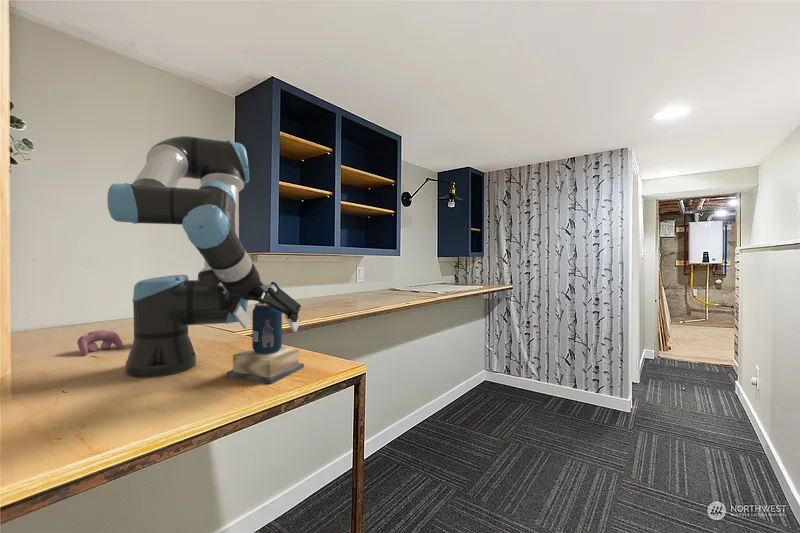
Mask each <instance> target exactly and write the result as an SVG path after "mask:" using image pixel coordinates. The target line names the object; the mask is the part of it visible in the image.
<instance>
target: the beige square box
mask: <svg viewBox="0 0 800 533" xmlns="http://www.w3.org/2000/svg"><path fill="white" fill-rule="evenodd" d="M303 368H305V364H304V363H301V362H299V348H294V347H293V348H292V347H288V346H287V347H285V346H281V348H280V350H279V351H278V352H277V353H273V354H257V353H256V352H255V351H254V349H253V347H252V348H250V349H246V350H244V351H240V352H238V353H235V354H233V355H232V369H231V370H229V371H226V377H228V378H229V377H230V378H234V379H235V378H236V379H240V380H245V381H251V382H257V383H262V384H267V385H268V384H269V385H273V384H274V383H276V382H278V381H280V380H282V379H283V378H285V377H288V376H289V375H292V374H293V373H295V372H297V371H300V370H301V369H303Z"/></svg>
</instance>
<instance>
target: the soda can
mask: <svg viewBox="0 0 800 533" xmlns="http://www.w3.org/2000/svg"><path fill="white" fill-rule="evenodd" d="M282 316H283V313H282V312H280V311H278V310H276V309H275V308H273V307H271V306H269V305H267V304H266V303H264V304H262V303H260V302H256V303H255V304H254V308H253V309H252V318H251V321H252V326H251V328H252V329H251V330H252V338H251V339H252V341H251V342H252V345H251V346H252V348H253V349H254V351H255V352H256V353H257V354H273V353H277V352H278V351H279V350H280V348H281V347H283V345H282V344H283V340H282V338H283V317H282Z"/></svg>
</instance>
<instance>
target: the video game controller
mask: <svg viewBox="0 0 800 533" xmlns="http://www.w3.org/2000/svg"><path fill="white" fill-rule="evenodd" d="M101 341H102V342H101ZM76 342H77V346H78V350H79V352H80V353H81V355H83V356H84V355H85V356H87V355H88V352H90V353H93V351H94V352H95V351H97V350H98V349H99V345H98V344H97V343H96V342H101V344H100V348H101V349H102V350H108V349H110V348H111V347H112V346H111V345H112V344H113V345H114V346H115V347H116V348H117V349H119V350H121V349H122V348H123V341H122V340H121V338H120V336H119V334H118V333H117V332H116V331H114V330H111V329H109V330H105V329H101V330H93V331H91V332H88V333H84V334H83V335H81V336H80V337H78V339H77V341H76Z"/></svg>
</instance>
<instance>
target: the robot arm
mask: <svg viewBox="0 0 800 533" xmlns="http://www.w3.org/2000/svg"><path fill="white" fill-rule="evenodd" d="M247 154H248V153H247V150H246V148H245V146H244V145H243V144H242V143H240V142H234V141H231V140H218V139H210V138H204V137H194V136H188V135H186V136H182V135H181V136H174V137H172V138H171V137H170V138H168V139H167V138H166V139H165V140H162V141H160V142H157V143H156V144H154V145H153V146H151V148H150V149H149V150H148V152H147V154H146V161H145V162H146V164H144V166H143V167H142V168H141V171H140V172H139V174H138V175H137V177H136V178H135V180H134V181H133V182H132V183H129V182H125V183H113V184H110V186H109V188H108V191H107V200H106V201H107V210H108V213H109V215H110V217H111V218H112V220H114V221H116V222H119V223H131V224H134V225H136V224H150V225H151V224H153V225H154V224H155V225H156V224H157V225H177V226H178V225H181V226H182V229H183V231H184V232H185V234H186V236H187V239H188V240H189V241H190V242H191V244H192V245H193V246H194V247H195V249H196V250H197V251H198V252H199V254H200V255H201V257H203V259H204V268H202V269H201V270H200V271H199V272H198V273H197V279H193V280H190V279H189V277H188V275H187V274H173V275H165V276H158V277H151V278H145V279H142V280H139V281H137V282H136V283H135V284H134V287H133V294H132V295H133V297H132V300H131V301H132V303H133V304H132V305H133V308H132V310H133V343H132V345H131V348H130V351H129V353H128V356H127V360H126V361H125V373H126V375H128V376H131V377H138V378H153V377H162V376H168V375H173V374H177V373H181V372H184V371H187V370H189V369H191V368H194V366H196V364H197V355H196V352H195V350H194V347H193V343H192V342H191V339H190V336H189V326H201V325H216V324H217V325H218V324H226V325H228V324H232V323H239V324H240V325H241V327H242V328H243V329H248V326H249V324H250V322H251V321H252V318H250V317H249V315H248V314H247V313H248V312H247V311H248V305H249V301H255V302H257V303H262V304H264V303H266V304H267V305H269V306H271V307H273V308H275V309H276V310H278V311H280V312H282V314H283V315H285V316H284V318H285V320H286V322H287V323H288V325H289V327H290V328H291V330H292V333H293V332H294V333H296V332H297V331H298V328H299V326H300V321H299V312H300V310H301V308H302V305H301V304H300V303H299V302H298V301H297V300H295V299H294V298H293V297H291V296H290V295H289V294H288V293H287V292H285V291H284V290H282V288H280V287H279V285H278V284H277V282H274V281H271V283H270V284H265V283H264V282H262V281H261V277H260V273H259V271H258V269H257V268H256V266H255V264H254V263H253V261H252V259H251V258H250V256H249V254H248V253H247V251H246V249H245V248H244V246H243V244H242V242H241V240H240V219H239V218H240V213H239V212H240V210H239V209H240V204H239V203H240V202H239V200H240V199H239V198H240V197H239V195H240V194H239V193H240V192H241V191H242V190H243V189H244V188H245V184H248V183H249V182H250V170H249V160H248V155H247ZM182 178H185V179H195V180H200V181H199V182H200V186H199V188H188V187H177V186H178V183H179V181H180V180H181V179H182ZM263 294H264V296H263ZM262 296H263V298H262Z"/></svg>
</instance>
